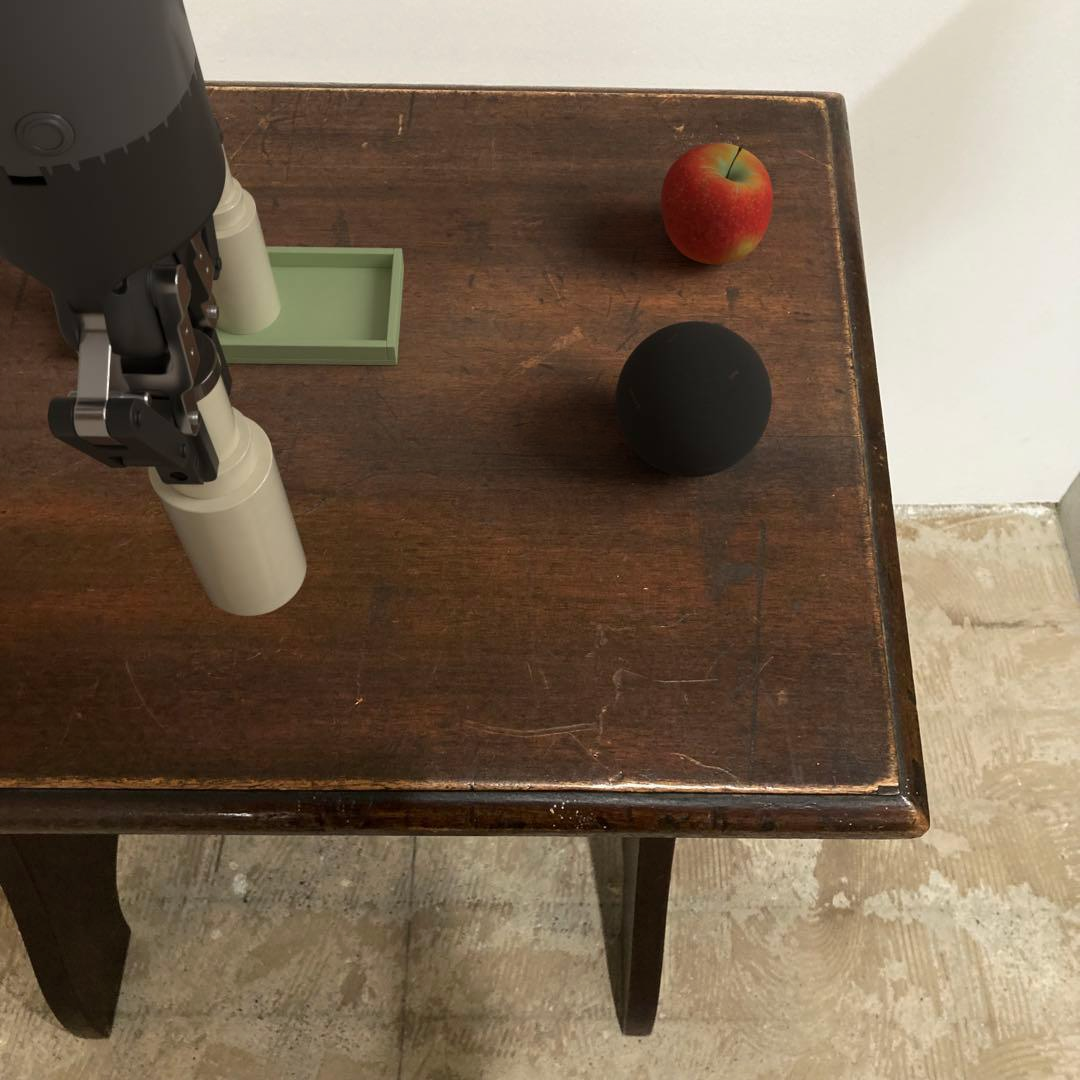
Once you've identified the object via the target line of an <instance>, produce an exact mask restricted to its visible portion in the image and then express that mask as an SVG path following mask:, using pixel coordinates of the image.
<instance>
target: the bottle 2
mask: <svg viewBox="0 0 1080 1080" xmlns="http://www.w3.org/2000/svg"><path fill="white" fill-rule="evenodd" d="M192 329H193V333H194V337H195V341H196V345H197V349H198V353H199V357H200V363H199V367H198V370H197V374H196V377H195V381H194V384H193V390H194V394H195V398H196V401H197V405H198V409H199V411H200V412H201V415H202V417H203V420H204V423H205V425H206V428H207V430H208V433H209V435H210V438H211V441H212V443H213V446H214V448H215V451H216V453H217V456H218V459H219V468H218V474H217V478H216V480H214V481H212V482H204V485H181V484H165V483H163V482H162V481H161V479H160V476H159V475H158V473H157V471H156V468H155V467H147V470H148V471H147V472H148V478H149V481H150V484H151V486H152V488H153V490H154V493H155V495H156V497H157V498H158V500H159V502H160V505H161V506H162V509H163V511H164V514H166V515H165V516H167V519H168V521H169V523H170V525H171V527H172V529H173V531H174V533H175V535H176V537H177V539H178V541H179V543H180V545H181V547H182V549H183V551H184V553H185V555H186V557H187V559H188V561H189V563H190V565H191V567H192V569H193V571H194V574H195V575H196V577H197V579H198V581H199V583H200V585H201V587H202V589H203V591H204V593H205V595H206V597H207V598H208V599H209V600H210V601H211V602H212V603H213V604H214V605H215V606H216V607H217V608H219V609H221V610H222V611H225V612H226V613H229V614H232V615H236V616H241V617H253V616H255V617H256V616H260V615H265V614H268V613H269V614H270V613H271V612H273V611H276V610H278V609H280V608H281V607H283V606H284V605H286V604H287V603H288V602H289V601H290V600H292V599H293V598H294V596H295V595H296V594H297V592H298V591H300V588H301V587H302V585H303V583H304V580H305V578H306V573H307V555H306V553H305V550H304V546H303V543H302V540H301V536H300V534H299V530H298V527H297V524H296V520H295V517H294V514H293V512H292V511H293V510H292V508H291V505H290V501H289V499H288V495H287V492H286V489H285V484H284V482H283V478H282V476H281V472H280V469H279V466H278V462H277V460H276V457H275V456H276V455H275V453H274V449H273V446H272V443H271V441H270V439H269V436H268V435H267V433H266V432H265V430H264V429H263V428H262V427H261V426H260V425H259V424H258V423H256V422H255V421H254V420H253V419H250V418H249V417H248V416H245V415H244V414H243V413H241V411H239V409H237V408H235V407H234V406H232V403H231V401H230V396H229V397H228V394H227V391H226V388H225V386H224V383H223V380H222V377H221V362H220V358H219V355H218V352H217V349H216V347H215V345H214V343H213V341H212V340H211V339H210V338H209V337H208V336H207V335H206V334H205V333H204V332H202V331H200V330H198V329H196V328H194V327H192ZM166 351H169V349H167V350H166ZM138 392H148V393H149V394H150V395H151V399H153V400H170V399H169V397H168V395H167V394H165V393H164V392H161V391H138Z"/></svg>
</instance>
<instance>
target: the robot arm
mask: <svg viewBox="0 0 1080 1080" xmlns="http://www.w3.org/2000/svg"><path fill="white" fill-rule="evenodd" d="M201 67H202V66H201V63H200V60H199V57H198V53H197V49H196V45H195V42H194V37H193V34H192V30H191V26H190V22H189V19H188V15H187V11H186V8H185V4H184V0H0V259H2V260H3V261H5V262H6V263H8V264H10V265H12V266H13V267H15V268H17V269H19V270H20V271H22V272H23V273H25V274H27V275H29V276H30V277H31V278H33V279H34V280H36V281H38V282H39V283H41V285H43V286H45V287H46V288H47V289H48V290H49V293H50V296H51V299H52V302H53V305H54V310H55V314H56V319H57V325H58V328H59V331H60V334H61V336H62V338H63V340H64V341H65V343H66V344H67V345H68V347H70V348H71V349H73V350H74V351H75V352H76V351H78V352H79V356H78V366H77V367H78V368H77V385H76V390H70V391H68V393H67V396H54V397H52V398H51V399H50V401H49V405H48V409H47V423H48V428H49V431H50V433H51V435H52V436H53V438H55V439H57V440H59V441H61V442H63V443H65V444H67V445H68V446H70V447H72V448H73V449H75V450H78V451H79V452H81V453H83V454H84V455H87V457H88V456H89V457H90V458H92V459H93V460H96V461H98V462H99V463H102V464H103V465H105V466H107V467H108V468H112V469H116V468H118V469H126V468H128V467H134V468H135V467H140V468H142V467H145V468H146V467H147V468H148V467H155V468H156V471H157V473H158V475H159V476H160V479H161V481H162V482H163V483H165V484H181V485H204V482H212V481H214V480H216V478H217V474H218V468H219V459H218V456H217V453H216V451H215V448H214V446H213V443H212V441H211V438H210V435H209V433H208V430H207V428H206V425H205V423H204V420H203V417H202V415H201V412H200V411H199V409H198V405H197V401H196V398H195V394H194V390H193V384H194V381H195V377H196V374H197V370H198V367H199V363H200V357H199V353H198V349H197V345H196V341H195V337H194V333H193V329H192V327H194V328H196V329H198V330H200V331H202V332H204V333H205V334H206V335H207V336H208V337H209V338H210V339H211V340H212V341H213V343H214V345H215V347H216V349H217V352H218V355H219V358H220V362H221V377H222V380H223V383H224V386H225V388H226V391H227V394H228V397H229V398H230V396H231V391H232V384H233V378H232V375H231V371H230V369H229V365H228V363H226V360H225V357H224V354H223V351H222V348H221V345H220V342H219V339H218V336H217V333H216V330H215V328H216V325H217V319H219V307H218V306H217V303H216V299H215V297H214V295H213V293H212V286H213V280H218V279H219V276H220V271H221V269H222V260H221V257H219V251H218V244H217V238H216V232H215V225H214V219H213V213H214V212H215V210H216V208H217V206H218V204H219V202H220V199H221V196H222V194H223V190H224V185H225V179H226V164H225V157H224V152H223V148H222V145H221V141H220V137H219V134H218V130H217V126H216V123H215V119H214V117H215V116H214V111H213V109H212V104H211V101H210V97H209V94H208V89H207V86H206V82H205V79H204V75H203V71H202V68H201ZM167 349H169V351H166V350H167ZM138 391H161V392H164V393H165V394H167V395H168V397H169V399H170V400H153V399H151V395H150V394H149V393H148V392H138Z"/></svg>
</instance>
